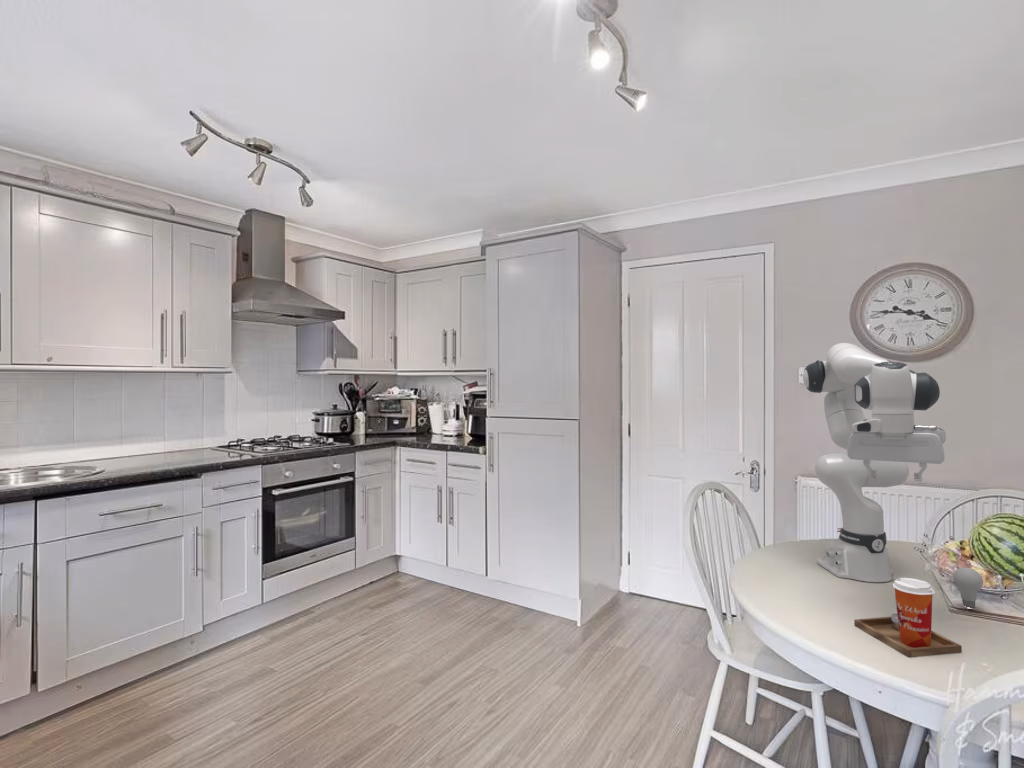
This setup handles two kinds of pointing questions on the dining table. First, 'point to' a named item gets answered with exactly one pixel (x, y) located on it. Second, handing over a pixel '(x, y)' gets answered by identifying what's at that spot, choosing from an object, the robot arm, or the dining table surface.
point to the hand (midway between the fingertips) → (894, 478)
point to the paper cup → (914, 611)
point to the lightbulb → (968, 585)
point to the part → (895, 622)
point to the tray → (891, 637)
